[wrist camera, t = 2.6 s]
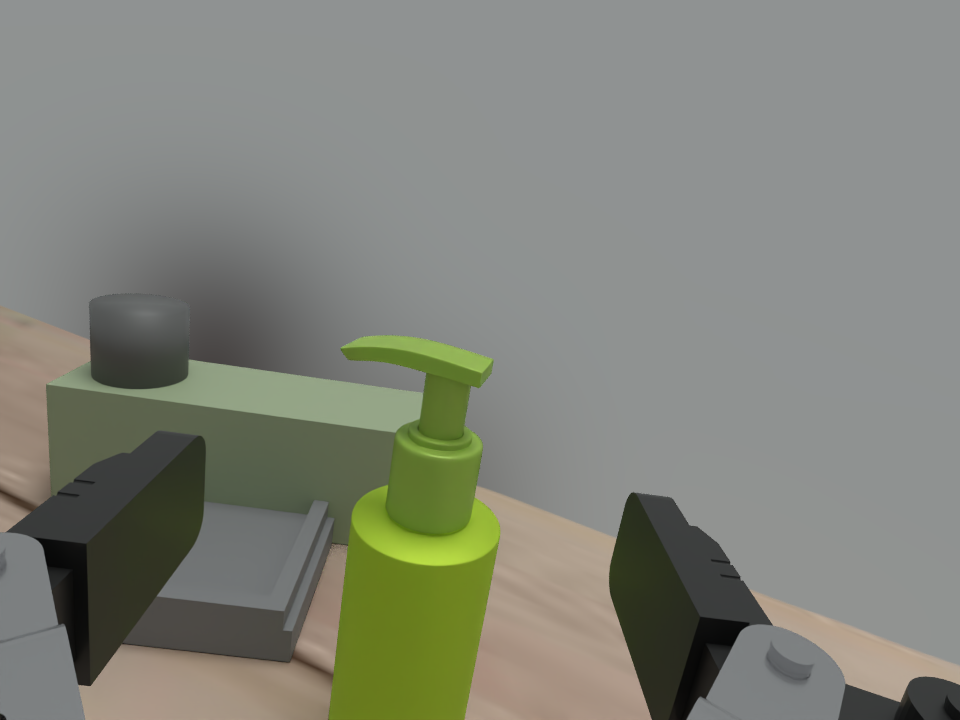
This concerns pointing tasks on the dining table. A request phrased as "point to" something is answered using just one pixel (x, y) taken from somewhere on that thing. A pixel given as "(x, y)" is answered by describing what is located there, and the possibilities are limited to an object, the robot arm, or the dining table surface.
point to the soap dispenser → (418, 553)
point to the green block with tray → (228, 470)
